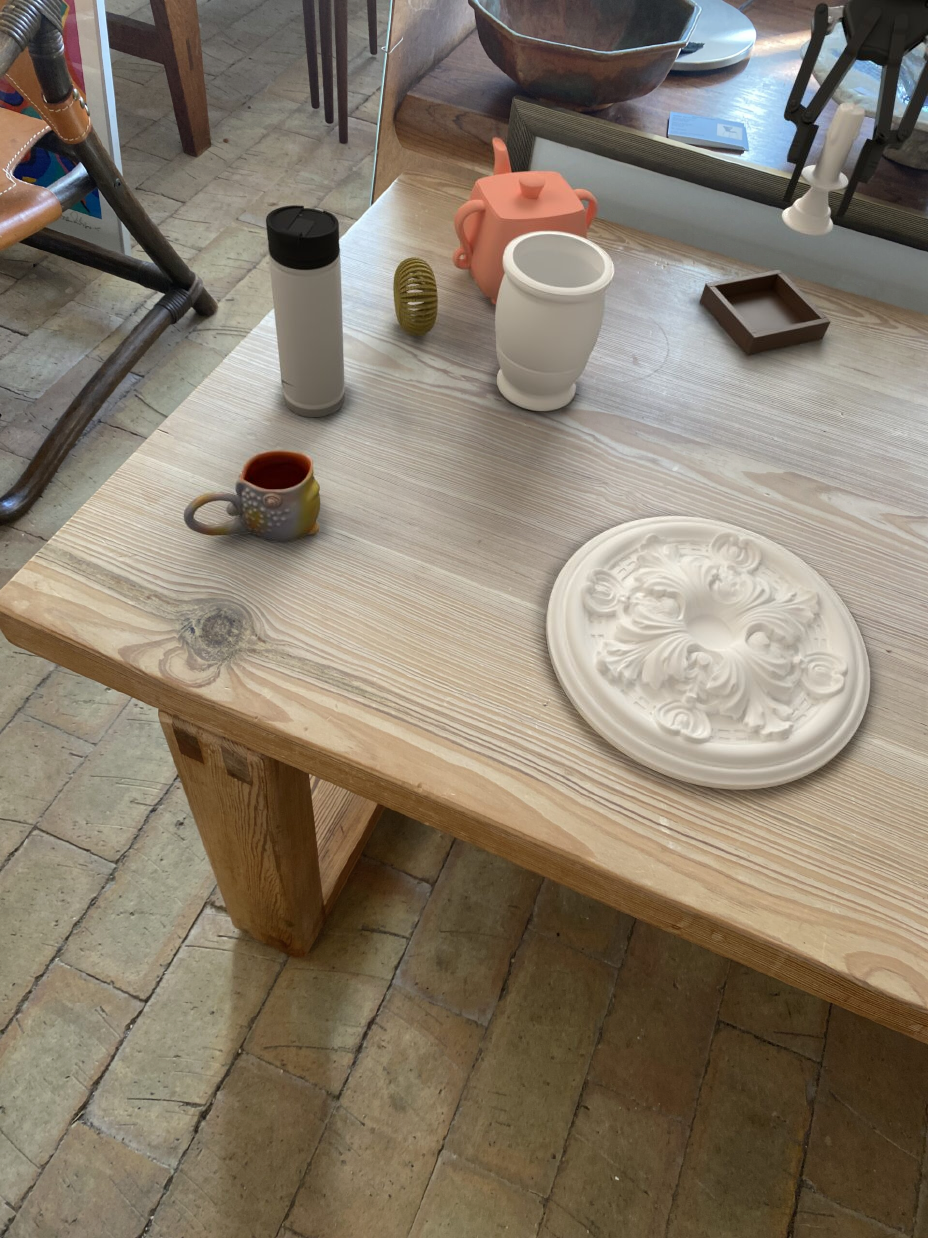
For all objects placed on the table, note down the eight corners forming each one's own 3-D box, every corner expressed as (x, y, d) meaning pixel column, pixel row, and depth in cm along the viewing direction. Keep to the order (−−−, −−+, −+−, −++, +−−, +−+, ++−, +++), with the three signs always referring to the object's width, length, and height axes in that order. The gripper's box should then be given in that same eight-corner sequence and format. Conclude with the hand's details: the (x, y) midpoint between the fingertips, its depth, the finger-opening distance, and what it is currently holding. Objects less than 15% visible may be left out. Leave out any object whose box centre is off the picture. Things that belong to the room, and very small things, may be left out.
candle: (811, 241, 93) (862, 120, 83) (770, 216, 95) (815, 96, 85) (842, 226, 95) (895, 106, 85) (802, 202, 97) (849, 83, 88)
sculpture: (389, 307, 103) (391, 242, 97) (424, 305, 104) (428, 240, 98) (402, 352, 99) (404, 287, 92) (438, 349, 100) (443, 285, 93)
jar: (601, 381, 99) (633, 256, 87) (555, 434, 93) (583, 308, 81) (517, 342, 101) (536, 215, 89) (468, 391, 96) (482, 263, 84)
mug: (308, 485, 86) (304, 432, 81) (331, 537, 83) (328, 486, 77) (180, 515, 83) (167, 462, 77) (198, 570, 79) (185, 519, 74)
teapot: (550, 339, 102) (570, 234, 92) (423, 286, 106) (429, 181, 96) (604, 275, 111) (628, 173, 100) (485, 229, 114) (496, 126, 104)
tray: (822, 339, 107) (831, 321, 104) (747, 355, 103) (754, 337, 101) (772, 287, 112) (779, 268, 110) (699, 301, 109) (705, 282, 107)
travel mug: (272, 412, 92) (251, 227, 76) (295, 372, 96) (280, 188, 79) (332, 426, 91) (323, 243, 75) (352, 385, 95) (348, 202, 79)
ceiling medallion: (751, 493, 90) (762, 470, 88) (933, 726, 76) (953, 707, 73) (494, 563, 82) (498, 540, 80) (644, 838, 68) (654, 821, 65)
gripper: (992, 0, 88) (894, 241, 92) (812, -42, 91) (725, 193, 95) (1022, -47, 81) (914, 217, 85) (825, -92, 84) (730, 165, 88)
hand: (814, 204), depth 90 cm, fingers closed on candle, 5 cm apart
